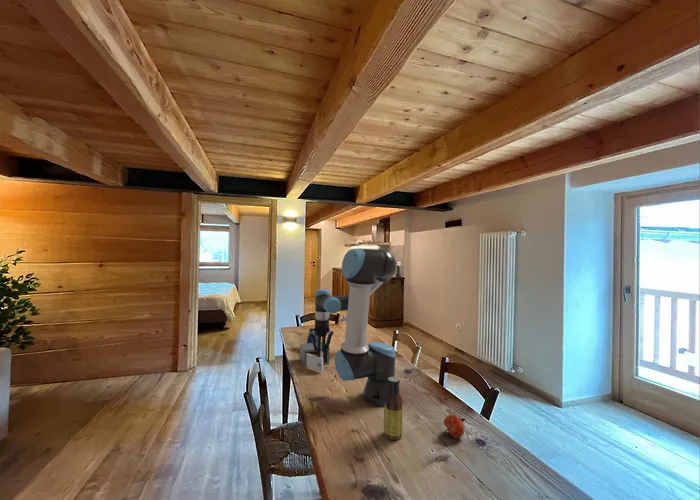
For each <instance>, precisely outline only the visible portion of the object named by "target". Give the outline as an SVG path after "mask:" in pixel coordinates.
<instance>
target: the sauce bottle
mask: <svg viewBox="0 0 700 500" xmlns="http://www.w3.org/2000/svg"><path fill="white" fill-rule="evenodd" d="M400 380H401V379H400V378H399V377H397V376H395V377H389V378H388V392H387V395H386V398H385V401H384V406H383V408H384V409H383V410H384V411H383V413H384V415H383V417H384V420H383V427H384V428H383V430H384V436H385V437H386V438H387V439H389V440H391V439H392V441H398V440H400V439H401V438H402V437H403V436H402V434H403V411H404V410H403V406H404V405H403V397H402V395H401V393H400V382H401V381H400ZM397 439H398V440H397Z"/></svg>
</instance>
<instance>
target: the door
mask: <svg viewBox="0 0 700 500" xmlns="http://www.w3.org/2000/svg"><path fill="white" fill-rule="evenodd" d="M306 366H307V367H306V368H310V369H313V370H316V371H317V372H320V373H322V372H324V365H323V358H320V357H317V356H314V355H311V354H308V353H306Z"/></svg>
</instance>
